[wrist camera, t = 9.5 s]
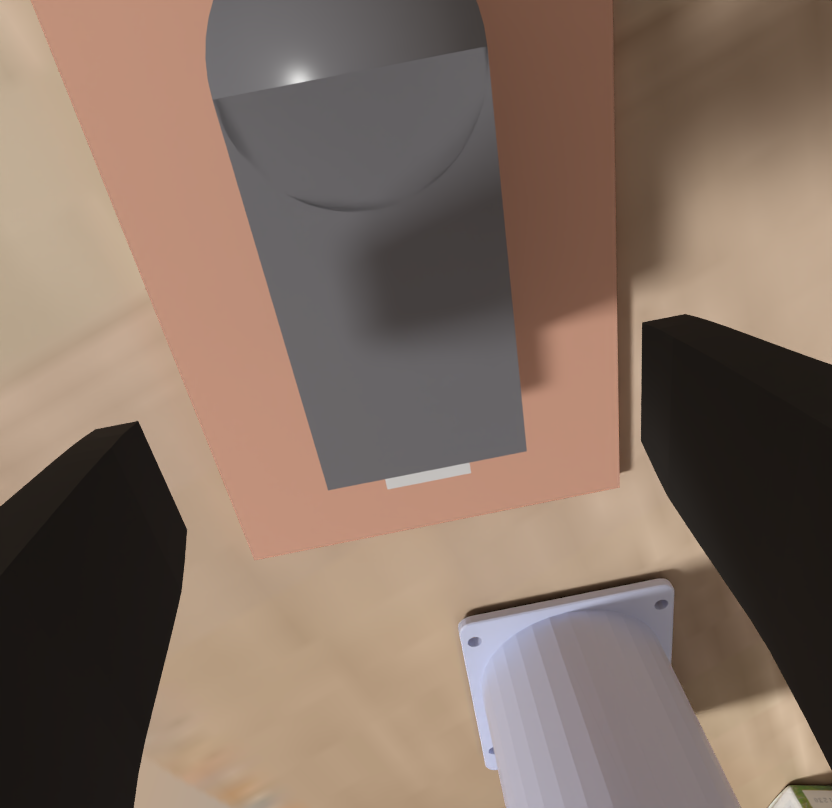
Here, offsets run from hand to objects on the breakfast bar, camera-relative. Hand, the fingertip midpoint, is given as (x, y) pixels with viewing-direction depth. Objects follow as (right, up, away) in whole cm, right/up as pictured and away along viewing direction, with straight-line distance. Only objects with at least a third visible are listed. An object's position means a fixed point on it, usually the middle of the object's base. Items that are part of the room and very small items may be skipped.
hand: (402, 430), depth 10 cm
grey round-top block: (-1, +5, +7) cm, 9 cm away
